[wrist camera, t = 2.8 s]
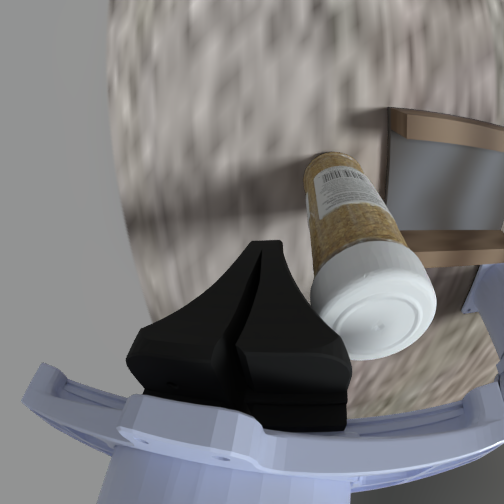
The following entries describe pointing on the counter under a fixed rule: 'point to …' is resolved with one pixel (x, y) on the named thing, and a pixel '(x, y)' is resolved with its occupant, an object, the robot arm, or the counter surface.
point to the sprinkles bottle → (362, 263)
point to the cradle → (446, 186)
